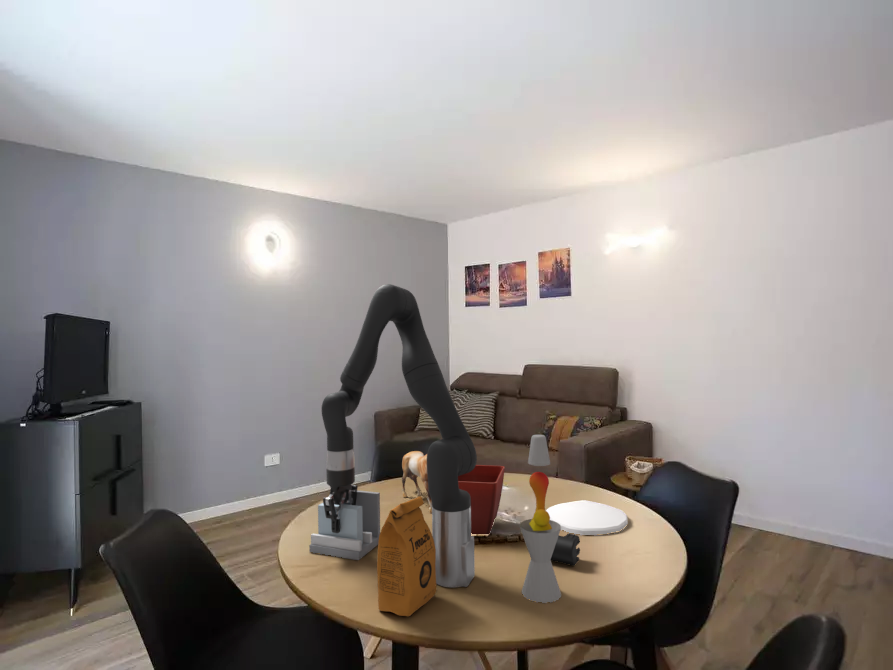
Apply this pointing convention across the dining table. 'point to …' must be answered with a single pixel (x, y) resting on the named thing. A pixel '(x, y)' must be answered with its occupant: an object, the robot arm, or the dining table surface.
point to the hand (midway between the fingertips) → (341, 528)
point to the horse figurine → (416, 472)
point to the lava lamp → (540, 532)
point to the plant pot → (483, 495)
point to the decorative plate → (588, 517)
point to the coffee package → (406, 560)
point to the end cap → (566, 549)
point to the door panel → (342, 522)
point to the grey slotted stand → (353, 546)
